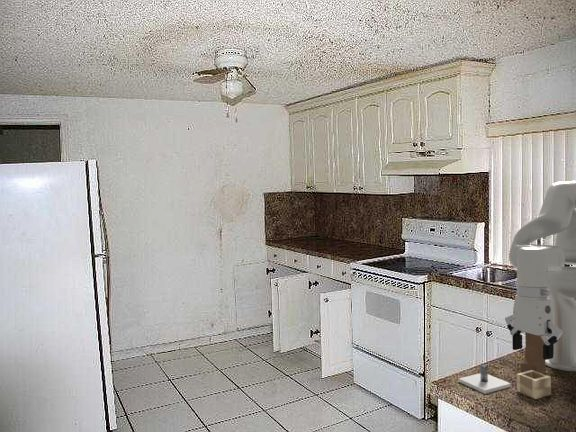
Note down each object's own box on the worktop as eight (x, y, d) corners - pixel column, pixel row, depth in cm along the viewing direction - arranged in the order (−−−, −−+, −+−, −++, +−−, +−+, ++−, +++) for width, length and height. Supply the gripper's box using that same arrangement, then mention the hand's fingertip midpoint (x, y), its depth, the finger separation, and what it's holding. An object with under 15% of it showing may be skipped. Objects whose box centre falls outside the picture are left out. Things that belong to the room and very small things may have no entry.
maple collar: (532, 387, 138) (531, 369, 138) (551, 394, 133) (550, 376, 133) (517, 391, 136) (516, 373, 136) (535, 399, 130) (535, 380, 130)
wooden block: (536, 381, 142) (535, 321, 141) (520, 377, 145) (519, 318, 145) (545, 372, 149) (545, 314, 148) (530, 369, 152) (529, 312, 151)
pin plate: (483, 375, 148) (483, 357, 148) (510, 386, 139) (510, 368, 139) (458, 381, 144) (458, 363, 144) (484, 393, 135) (484, 374, 135)
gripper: (570, 296, 127) (571, 360, 127) (515, 286, 142) (515, 344, 143) (551, 298, 124) (551, 365, 124) (496, 288, 139) (497, 347, 140)
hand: (532, 353), depth 133 cm, fingers open, 9 cm apart
